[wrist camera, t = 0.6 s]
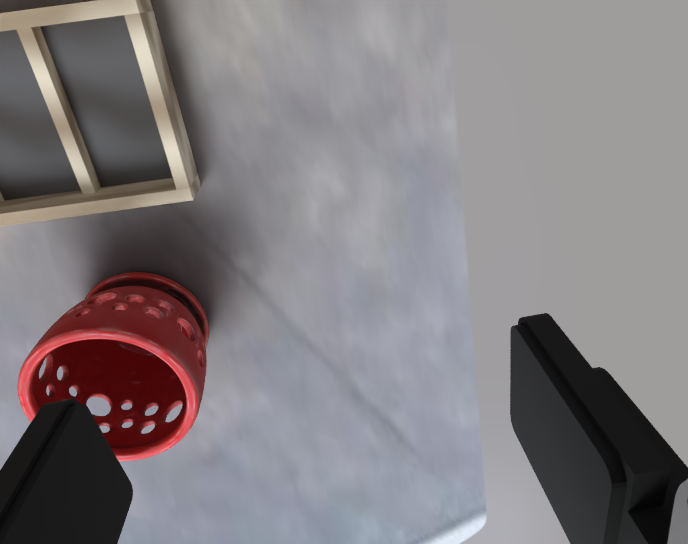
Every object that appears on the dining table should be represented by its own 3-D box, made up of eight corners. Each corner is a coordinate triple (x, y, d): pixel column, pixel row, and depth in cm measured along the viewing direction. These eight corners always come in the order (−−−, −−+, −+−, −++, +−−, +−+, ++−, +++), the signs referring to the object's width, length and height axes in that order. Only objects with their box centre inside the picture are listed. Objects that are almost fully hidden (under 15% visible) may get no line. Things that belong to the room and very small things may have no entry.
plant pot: (237, 352, 50) (220, 446, 40) (113, 377, 51) (65, 476, 40) (193, 240, 44) (160, 317, 33) (52, 270, 44) (-25, 356, 34)
